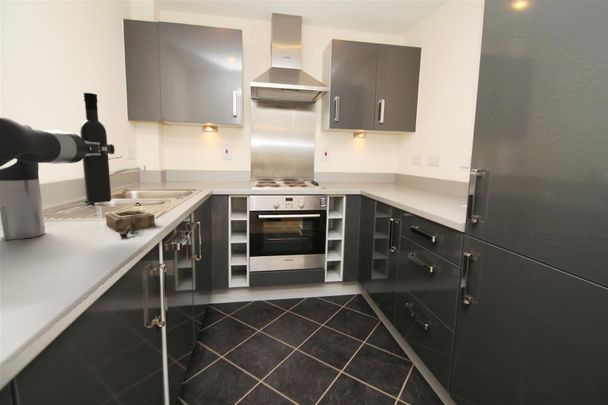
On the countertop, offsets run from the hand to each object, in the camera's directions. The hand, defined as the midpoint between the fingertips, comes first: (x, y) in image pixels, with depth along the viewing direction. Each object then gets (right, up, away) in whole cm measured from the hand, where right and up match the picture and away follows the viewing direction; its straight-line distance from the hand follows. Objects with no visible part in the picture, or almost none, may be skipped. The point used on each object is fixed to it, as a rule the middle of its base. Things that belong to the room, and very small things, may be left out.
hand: (98, 149), depth 85 cm
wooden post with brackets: (+4, -26, +8) cm, 28 cm away
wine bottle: (0, -15, 0) cm, 15 cm away
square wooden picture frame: (-2, -24, +20) cm, 31 cm away
